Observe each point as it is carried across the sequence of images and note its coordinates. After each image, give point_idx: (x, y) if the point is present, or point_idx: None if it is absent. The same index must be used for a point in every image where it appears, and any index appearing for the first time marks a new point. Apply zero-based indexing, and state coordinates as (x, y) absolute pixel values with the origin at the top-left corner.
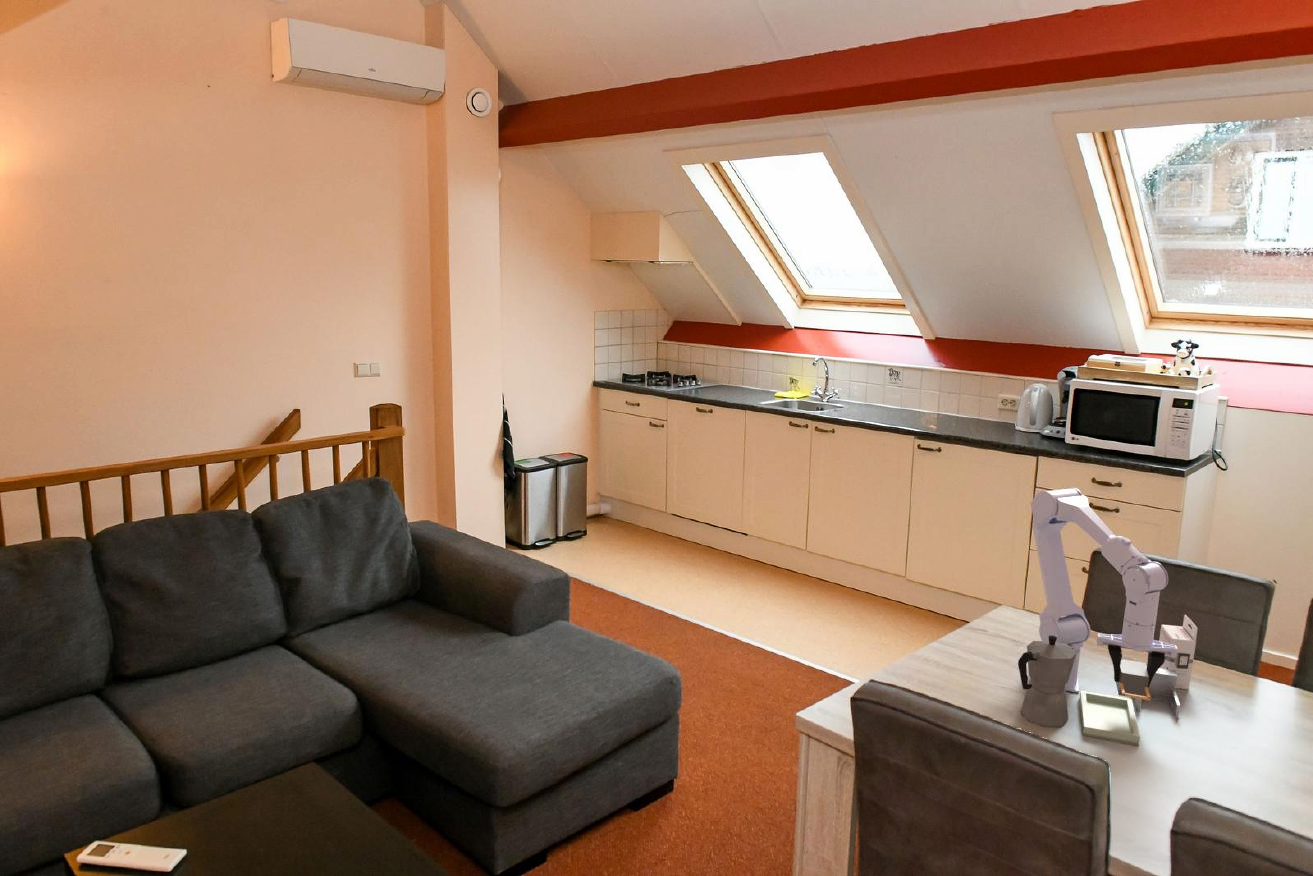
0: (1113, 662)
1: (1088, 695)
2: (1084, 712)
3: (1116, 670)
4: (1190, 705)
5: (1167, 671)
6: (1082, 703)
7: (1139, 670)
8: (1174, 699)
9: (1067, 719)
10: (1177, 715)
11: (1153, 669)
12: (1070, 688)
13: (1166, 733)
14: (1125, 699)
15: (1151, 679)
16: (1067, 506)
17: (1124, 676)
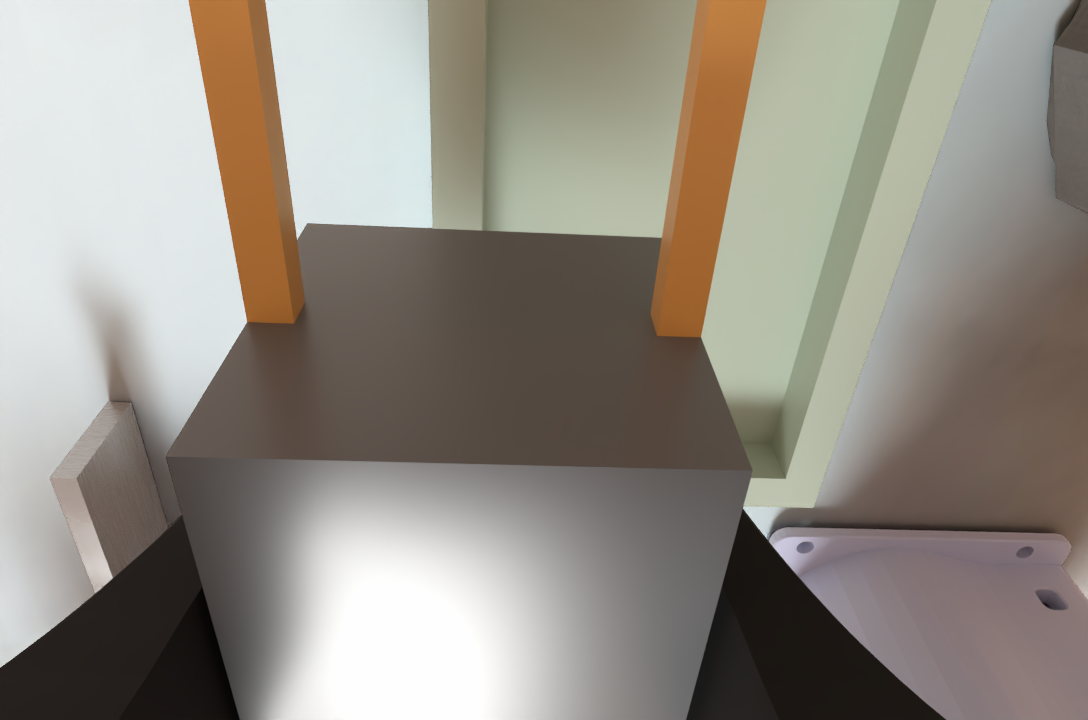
0: (927, 711)
1: (758, 468)
2: (939, 105)
3: (767, 578)
4: (65, 595)
5: None
6: (883, 295)
7: (366, 652)
8: (120, 568)
9: (1075, 24)
10: (106, 419)
11: (50, 692)
12: (826, 553)
13: (167, 112)
14: None
15: (177, 520)
16: None
17: (671, 416)
